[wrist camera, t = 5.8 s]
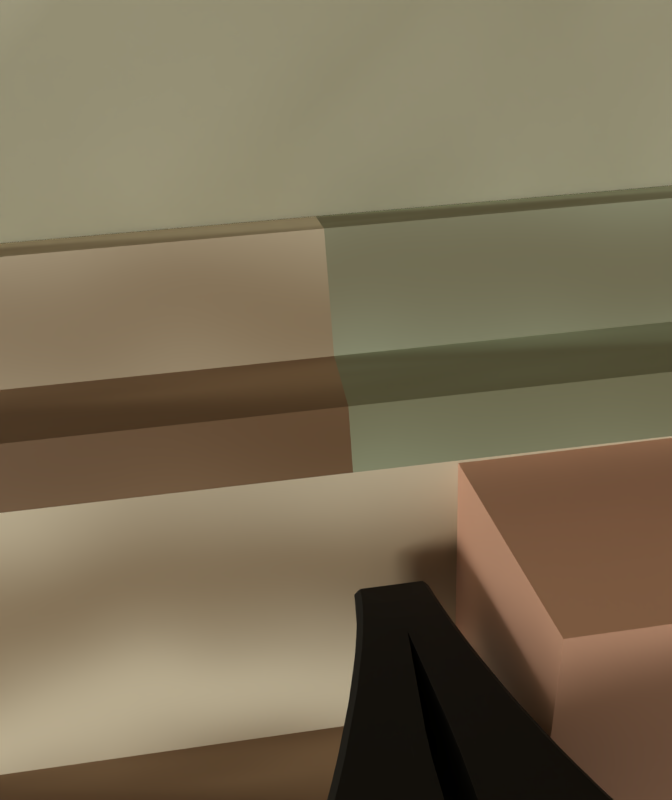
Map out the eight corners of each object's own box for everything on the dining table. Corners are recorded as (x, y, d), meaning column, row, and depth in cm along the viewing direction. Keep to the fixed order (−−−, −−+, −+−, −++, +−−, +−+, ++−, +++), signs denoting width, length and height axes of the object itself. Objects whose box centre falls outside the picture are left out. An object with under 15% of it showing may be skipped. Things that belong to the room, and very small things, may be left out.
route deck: (998, 635, 17) (1199, 767, 13) (37, 773, 15) (-40, 968, 11) (1294, 131, 11) (1799, 116, 7) (-205, 261, 9) (-518, 324, 6)
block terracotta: (672, 628, 12) (839, 826, 9) (454, 658, 12) (532, 877, 8) (718, 431, 10) (964, 583, 7) (457, 463, 10) (563, 638, 6)
